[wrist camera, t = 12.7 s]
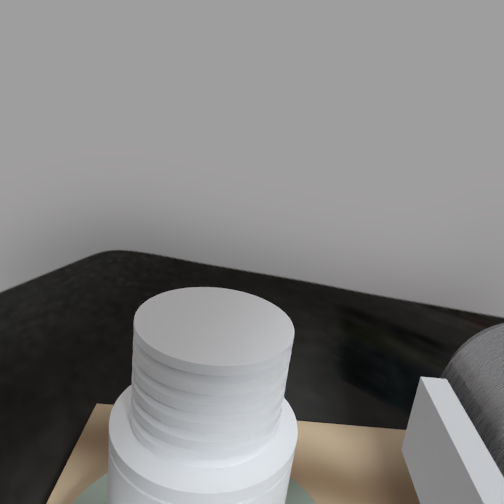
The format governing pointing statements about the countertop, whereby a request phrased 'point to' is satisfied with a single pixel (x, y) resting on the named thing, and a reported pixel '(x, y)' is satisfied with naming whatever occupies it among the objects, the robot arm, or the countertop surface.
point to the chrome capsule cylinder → (482, 386)
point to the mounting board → (302, 472)
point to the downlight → (204, 403)
